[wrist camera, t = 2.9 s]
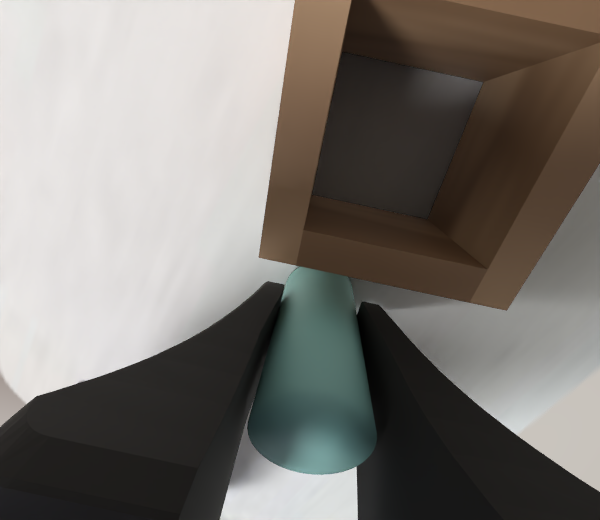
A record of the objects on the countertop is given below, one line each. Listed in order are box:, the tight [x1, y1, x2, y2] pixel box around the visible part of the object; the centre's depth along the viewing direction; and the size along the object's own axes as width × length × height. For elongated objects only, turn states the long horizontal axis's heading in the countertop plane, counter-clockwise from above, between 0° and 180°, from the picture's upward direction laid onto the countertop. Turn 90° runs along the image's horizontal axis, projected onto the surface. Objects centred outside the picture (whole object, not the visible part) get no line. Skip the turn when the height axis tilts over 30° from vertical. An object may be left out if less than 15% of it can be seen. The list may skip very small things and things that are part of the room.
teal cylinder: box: [247, 266, 377, 475], centre depth 9 cm, size 3×3×6 cm
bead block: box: [259, 0, 600, 311], centre depth 7 cm, size 6×6×4 cm
